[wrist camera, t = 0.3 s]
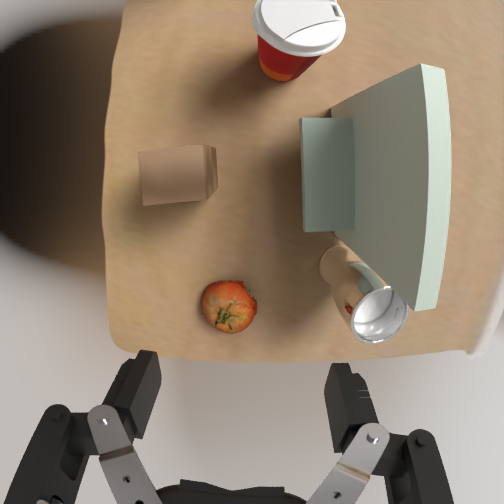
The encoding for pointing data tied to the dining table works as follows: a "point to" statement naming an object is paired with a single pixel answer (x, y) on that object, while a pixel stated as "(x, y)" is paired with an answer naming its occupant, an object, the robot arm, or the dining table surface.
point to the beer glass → (362, 296)
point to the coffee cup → (295, 34)
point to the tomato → (228, 306)
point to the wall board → (385, 179)
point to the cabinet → (178, 174)
